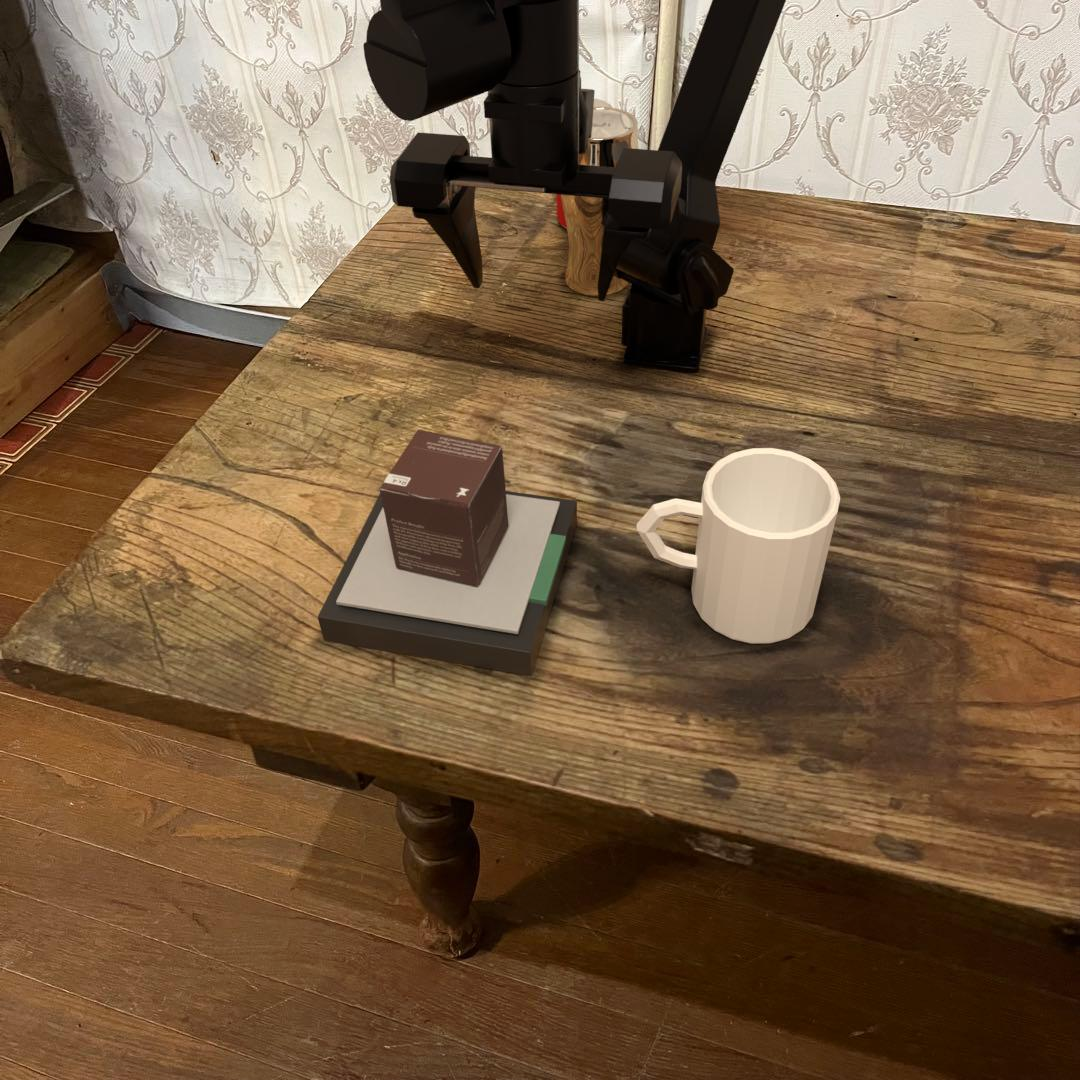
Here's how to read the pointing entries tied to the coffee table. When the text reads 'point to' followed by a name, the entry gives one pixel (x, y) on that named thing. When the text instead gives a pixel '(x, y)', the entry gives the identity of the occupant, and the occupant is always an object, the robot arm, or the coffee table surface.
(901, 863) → the coffee table surface
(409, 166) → the robot arm
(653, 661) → the coffee table surface
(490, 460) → the box
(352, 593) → the scale
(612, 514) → the coffee table surface
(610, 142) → the beer glass
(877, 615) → the coffee table surface
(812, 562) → the mug
